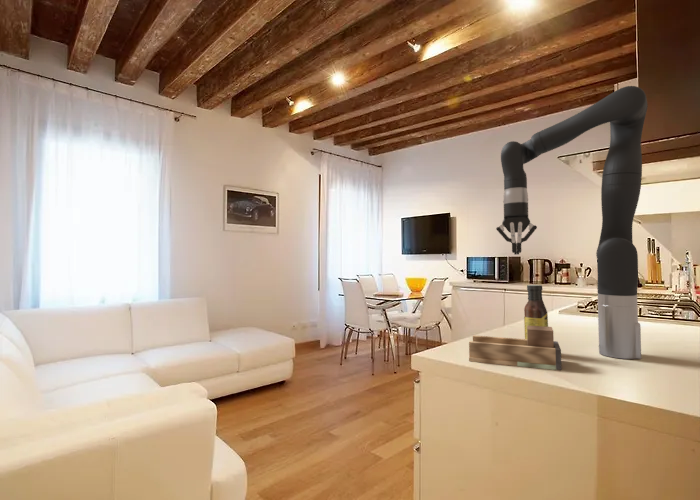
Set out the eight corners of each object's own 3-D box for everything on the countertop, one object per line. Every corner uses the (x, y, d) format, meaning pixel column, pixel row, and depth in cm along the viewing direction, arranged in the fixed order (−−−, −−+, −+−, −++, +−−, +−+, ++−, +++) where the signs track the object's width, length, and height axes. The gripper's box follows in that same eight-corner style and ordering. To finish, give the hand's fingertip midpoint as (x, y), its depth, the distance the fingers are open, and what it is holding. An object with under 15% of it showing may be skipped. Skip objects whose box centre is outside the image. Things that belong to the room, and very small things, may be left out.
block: (552, 356, 101) (551, 326, 101) (554, 362, 96) (553, 330, 96) (527, 354, 104) (527, 325, 104) (528, 360, 98) (527, 329, 98)
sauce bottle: (551, 356, 106) (550, 285, 106) (528, 355, 107) (526, 285, 108) (544, 350, 112) (543, 284, 113) (522, 349, 114) (521, 284, 114)
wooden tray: (557, 359, 103) (557, 341, 103) (561, 370, 93) (561, 350, 93) (473, 351, 112) (473, 334, 112) (469, 361, 102) (468, 342, 102)
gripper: (537, 202, 126) (538, 254, 126) (495, 205, 132) (496, 254, 131) (538, 199, 119) (539, 254, 119) (493, 202, 125) (494, 254, 125)
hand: (516, 254), depth 125 cm, fingers closed
